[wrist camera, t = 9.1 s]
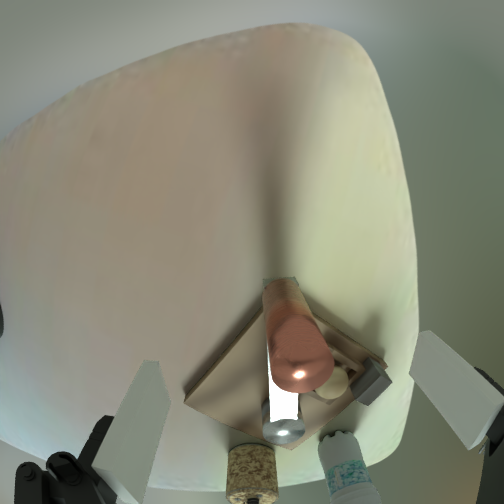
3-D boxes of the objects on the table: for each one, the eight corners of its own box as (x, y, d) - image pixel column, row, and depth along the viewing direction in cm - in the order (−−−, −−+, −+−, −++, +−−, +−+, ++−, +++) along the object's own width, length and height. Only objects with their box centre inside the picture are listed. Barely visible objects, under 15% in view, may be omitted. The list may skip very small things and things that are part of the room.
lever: (301, 429, 28) (317, 507, 17) (263, 433, 28) (267, 513, 17) (305, 268, 24) (352, 336, 12) (250, 273, 24) (252, 347, 12)
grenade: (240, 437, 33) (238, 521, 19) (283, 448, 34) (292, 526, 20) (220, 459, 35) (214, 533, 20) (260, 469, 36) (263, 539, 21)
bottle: (305, 444, 34) (326, 550, 15) (338, 421, 33) (376, 531, 14) (332, 454, 35) (357, 548, 16) (363, 433, 34) (401, 528, 15)
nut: (303, 376, 29) (309, 398, 25) (326, 353, 29) (335, 373, 25) (327, 388, 30) (334, 410, 26) (349, 366, 29) (360, 386, 25)
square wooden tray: (185, 395, 32) (177, 424, 26) (276, 288, 28) (283, 309, 23) (290, 443, 34) (294, 470, 29) (383, 360, 31) (401, 384, 25)
